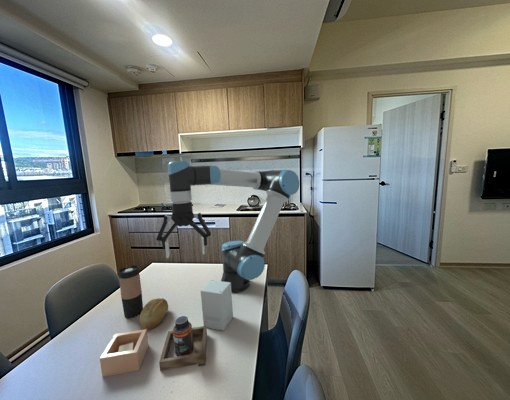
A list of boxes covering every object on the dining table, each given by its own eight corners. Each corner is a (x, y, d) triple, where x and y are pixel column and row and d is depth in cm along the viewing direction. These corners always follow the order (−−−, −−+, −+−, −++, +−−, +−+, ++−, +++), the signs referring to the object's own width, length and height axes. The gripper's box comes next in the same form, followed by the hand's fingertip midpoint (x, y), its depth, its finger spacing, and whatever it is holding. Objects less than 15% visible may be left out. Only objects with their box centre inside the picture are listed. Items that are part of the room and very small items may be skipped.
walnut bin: (206, 334, 82) (206, 325, 82) (205, 364, 69) (204, 354, 69) (169, 340, 80) (168, 331, 79) (160, 373, 67) (159, 362, 67)
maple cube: (134, 352, 74) (133, 341, 74) (133, 361, 71) (132, 350, 70) (120, 357, 72) (119, 346, 72) (119, 366, 69) (117, 355, 68)
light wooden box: (148, 347, 77) (146, 329, 76) (139, 372, 68) (136, 352, 67) (117, 352, 76) (114, 333, 75) (102, 379, 66) (99, 358, 65)
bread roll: (173, 308, 100) (171, 291, 98) (161, 332, 85) (159, 312, 84) (151, 309, 99) (149, 292, 98) (135, 333, 84) (132, 314, 83)
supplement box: (233, 316, 92) (231, 281, 90) (224, 331, 83) (221, 293, 81) (214, 312, 95) (211, 279, 93) (202, 326, 86) (199, 290, 84)
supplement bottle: (191, 341, 78) (188, 311, 77) (196, 352, 73) (193, 320, 72) (173, 349, 75) (170, 318, 74) (177, 361, 70) (174, 328, 69)
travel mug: (135, 319, 92) (129, 273, 90) (119, 318, 94) (113, 272, 91) (147, 308, 100) (142, 265, 97) (132, 307, 101) (127, 264, 99)
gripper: (214, 198, 92) (218, 248, 94) (149, 202, 87) (155, 255, 90) (214, 201, 84) (218, 255, 87) (143, 205, 80) (150, 262, 83)
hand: (186, 255), depth 89 cm, fingers open, 13 cm apart
